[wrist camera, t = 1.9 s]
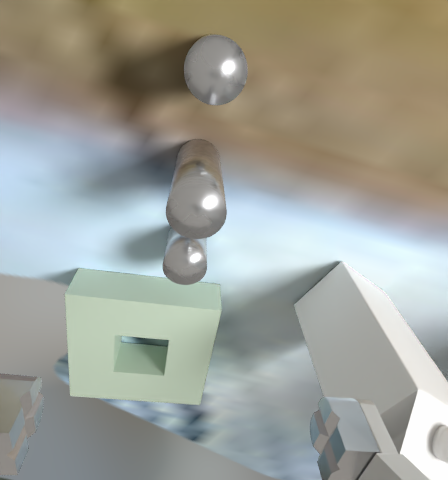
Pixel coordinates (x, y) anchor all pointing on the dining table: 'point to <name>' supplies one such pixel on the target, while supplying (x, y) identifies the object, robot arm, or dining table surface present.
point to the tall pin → (197, 191)
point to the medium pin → (215, 69)
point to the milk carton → (377, 364)
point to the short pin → (184, 259)
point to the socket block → (139, 325)
